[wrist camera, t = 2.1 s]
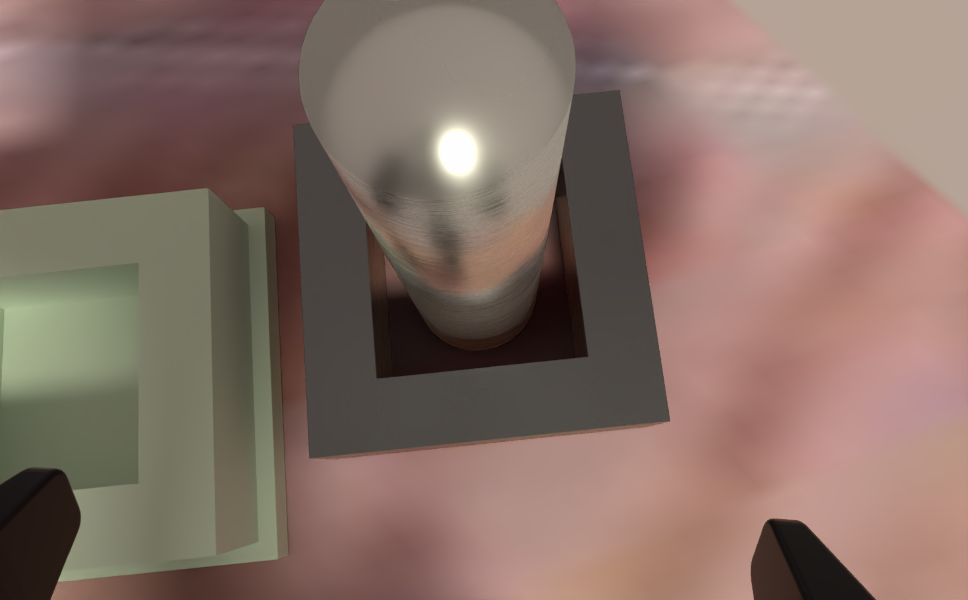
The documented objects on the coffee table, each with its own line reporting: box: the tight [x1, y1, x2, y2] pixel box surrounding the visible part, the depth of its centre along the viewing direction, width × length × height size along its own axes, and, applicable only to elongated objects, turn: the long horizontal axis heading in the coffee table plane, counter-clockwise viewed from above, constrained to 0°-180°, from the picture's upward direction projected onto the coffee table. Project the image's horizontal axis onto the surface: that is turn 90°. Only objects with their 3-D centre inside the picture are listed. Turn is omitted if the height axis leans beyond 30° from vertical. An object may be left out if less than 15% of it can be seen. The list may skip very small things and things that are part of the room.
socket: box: [293, 90, 670, 459], centre depth 21 cm, size 9×9×3 cm
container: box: [0, 188, 289, 582], centre depth 20 cm, size 10×10×4 cm
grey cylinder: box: [299, 0, 576, 351], centre depth 16 cm, size 4×4×13 cm
